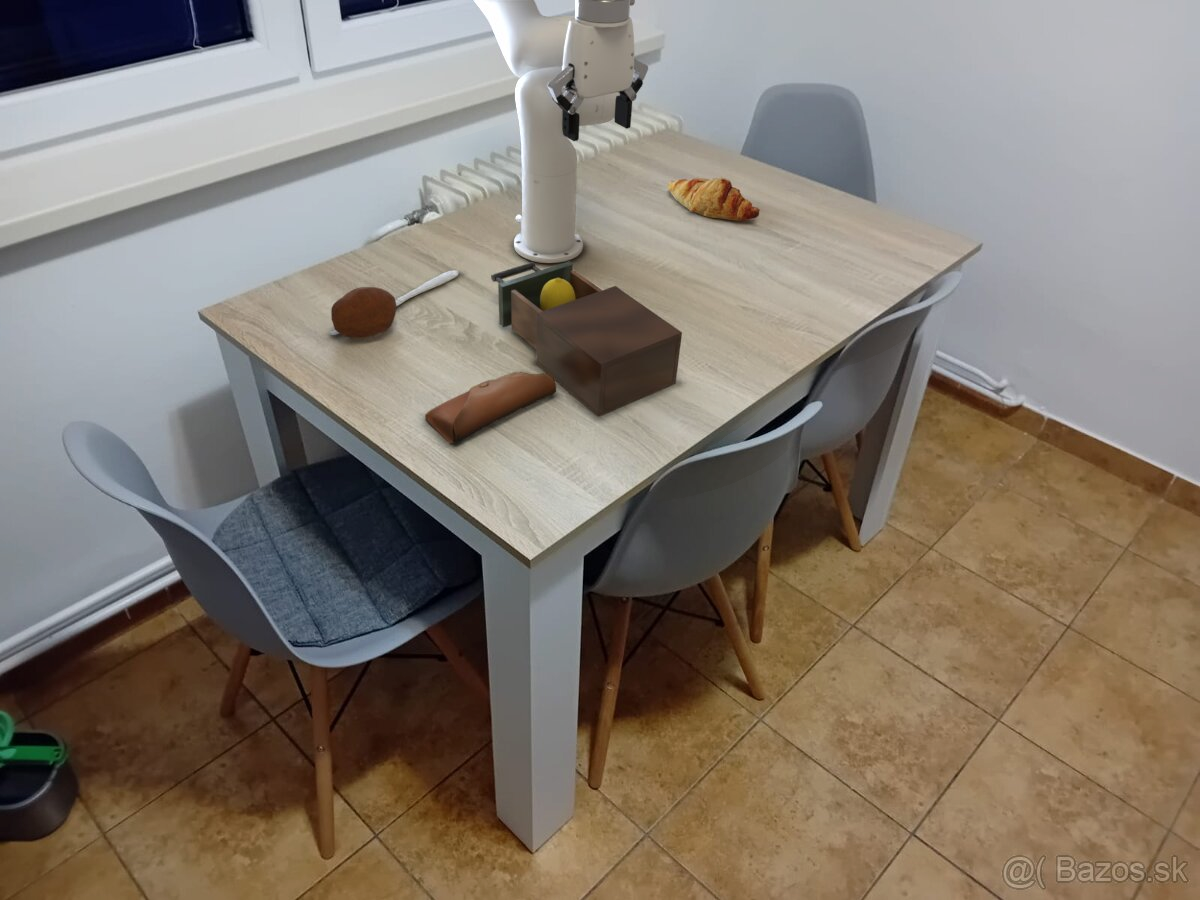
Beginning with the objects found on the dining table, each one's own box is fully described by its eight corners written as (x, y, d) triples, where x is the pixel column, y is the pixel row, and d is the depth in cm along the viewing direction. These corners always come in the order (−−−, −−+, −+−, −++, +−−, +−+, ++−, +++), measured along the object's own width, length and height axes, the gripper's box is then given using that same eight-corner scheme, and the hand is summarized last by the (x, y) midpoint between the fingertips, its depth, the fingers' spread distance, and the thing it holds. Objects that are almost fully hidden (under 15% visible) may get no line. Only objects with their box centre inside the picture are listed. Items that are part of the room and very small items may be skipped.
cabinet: (536, 364, 138) (536, 313, 132) (612, 335, 145) (615, 285, 139) (598, 417, 129) (601, 364, 123) (675, 383, 136) (682, 332, 130)
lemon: (570, 335, 141) (571, 289, 136) (536, 329, 142) (536, 284, 137) (578, 316, 145) (579, 272, 140) (544, 311, 146) (545, 267, 141)
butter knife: (464, 274, 156) (452, 267, 158) (337, 338, 140) (325, 330, 142) (464, 277, 157) (452, 270, 158) (338, 341, 141) (325, 333, 142)
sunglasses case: (519, 368, 136) (534, 346, 131) (546, 406, 135) (562, 385, 130) (419, 416, 126) (431, 394, 121) (447, 457, 125) (460, 437, 120)
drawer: (477, 305, 148) (475, 266, 144) (545, 283, 155) (545, 244, 150) (551, 368, 136) (552, 326, 131) (621, 341, 142) (624, 300, 138)
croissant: (658, 213, 187) (650, 186, 180) (683, 178, 190) (676, 150, 183) (748, 243, 178) (744, 216, 171) (773, 206, 180) (770, 177, 173)
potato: (320, 331, 141) (314, 291, 136) (377, 306, 148) (373, 266, 142) (354, 356, 138) (349, 316, 132) (410, 329, 144) (408, 289, 139)
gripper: (634, -6, 131) (626, 113, 142) (534, 9, 123) (534, 134, 134) (667, 7, 127) (657, 128, 138) (567, 24, 118) (564, 152, 129)
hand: (596, 131), depth 136 cm, fingers open, 9 cm apart
